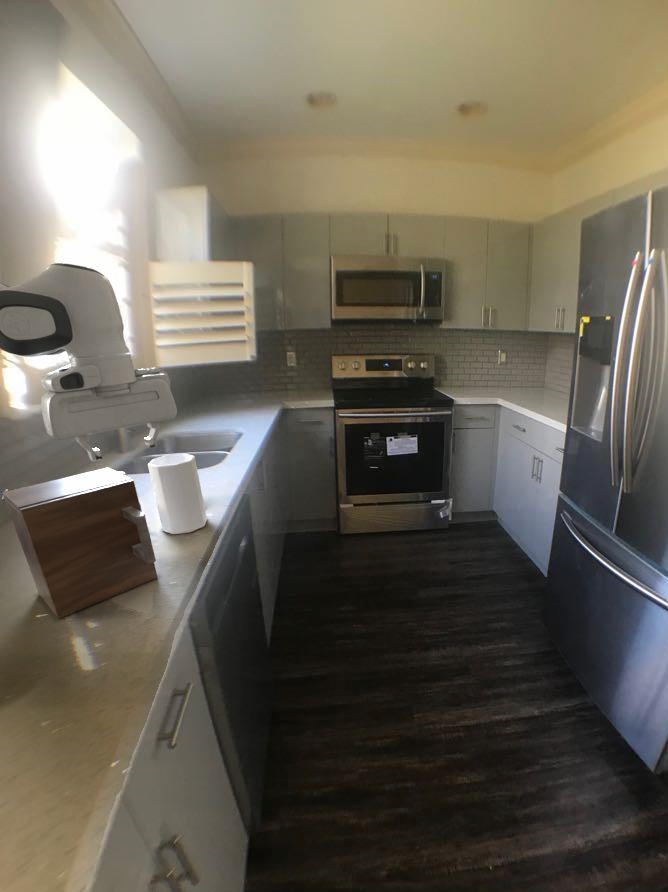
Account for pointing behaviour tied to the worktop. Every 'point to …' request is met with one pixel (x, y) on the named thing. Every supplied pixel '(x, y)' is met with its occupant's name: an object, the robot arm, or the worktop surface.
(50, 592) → the cupboard door
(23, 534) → the cupboard
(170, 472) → the cup
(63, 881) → the worktop surface
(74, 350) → the robot arm
